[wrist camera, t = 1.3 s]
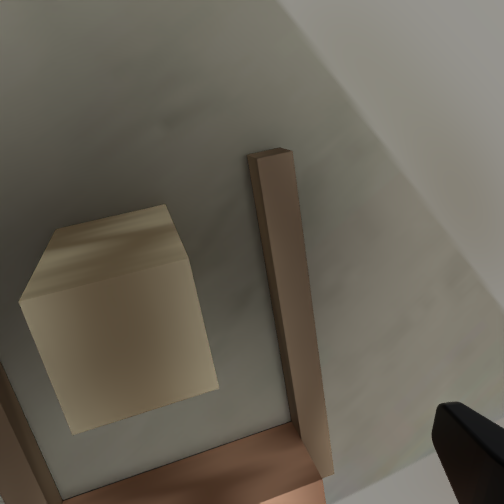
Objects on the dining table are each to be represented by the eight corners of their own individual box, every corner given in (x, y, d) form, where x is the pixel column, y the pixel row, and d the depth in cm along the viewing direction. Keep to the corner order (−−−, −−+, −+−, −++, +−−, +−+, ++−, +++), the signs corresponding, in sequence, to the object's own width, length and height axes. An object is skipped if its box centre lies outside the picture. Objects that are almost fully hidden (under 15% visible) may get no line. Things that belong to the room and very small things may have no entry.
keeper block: (88, 323, 19) (72, 435, 13) (56, 228, 17) (18, 301, 11) (187, 296, 20) (219, 388, 14) (165, 204, 18) (188, 258, 12)
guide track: (51, 554, 22) (37, 642, 19) (-109, 230, 16) (-177, 268, 12) (322, 453, 25) (356, 513, 22) (280, 147, 19) (318, 158, 15)
